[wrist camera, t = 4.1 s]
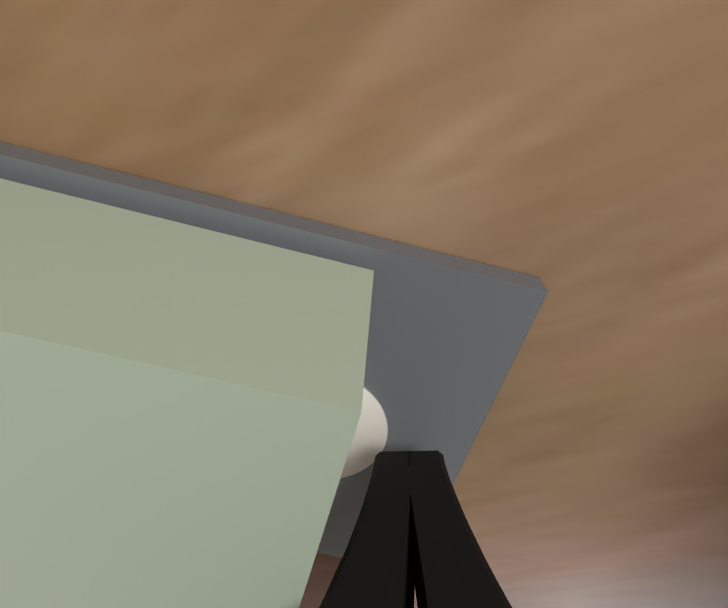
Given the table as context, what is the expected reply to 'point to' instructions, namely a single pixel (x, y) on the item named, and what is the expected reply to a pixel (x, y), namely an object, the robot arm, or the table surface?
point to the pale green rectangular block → (167, 408)
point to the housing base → (386, 326)
